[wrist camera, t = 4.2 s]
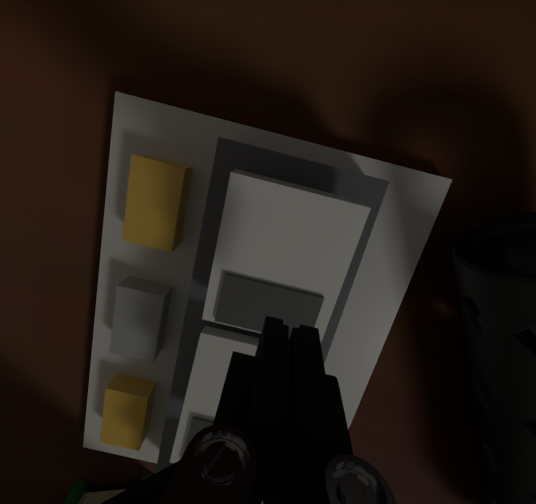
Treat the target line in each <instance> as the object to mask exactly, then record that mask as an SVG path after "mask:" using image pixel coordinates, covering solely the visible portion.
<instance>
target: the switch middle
mask: <svg viewBox="0 0 536 504" xmlns="http://www.w3.org/2000/svg"><path fill="white" fill-rule="evenodd" d="M259 339H260V338H256V337H252V336H247V335H243V334H239V333H235V332H231V331H226V330H222V329H218V328H214V327H210V326H205V327H204V328H203V330H202V331H201V334H200V338H199V342H198V346H197V350H196V355H195V359H194V363H193V367H192V371H191V375H190V379H189V384H188V388H187V392H186V396H185V400H184V404H183V408H182V413H181V417H180V421H179V425H178V429H177V433H176V437H175V441H174V446H173V450H172V454H171V458H170V463H175V462H177V461H179V460H181V458H182V456H183V454H184V452H185V450H186V448H187V446H188V444H189V442H190V441H191V440H192V438H193V437H194V436H195V434H196V433H198V432H199V431H200V430H202V429H203V428H205V427H208V426H211V425H213V422H214V419H215V415H216V411H217V408H218V404H219V400H220V397H221V393H222V389H223V386H224V382H225V378H226V375H227V371H228V367H229V364H230V360H231V356H232V353H233V351H235V352H239V353H243V354H247V355H251V356H255V353H256V350H257V346H258V343H259Z"/></svg>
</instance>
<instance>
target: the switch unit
mask: <svg viewBox="0 0 536 504" xmlns="http://www.w3.org/2000/svg"><path fill="white" fill-rule="evenodd" d="M234 169H239V170H243V171H247V172H250V173H254V174H258V175H262V176H266V177H270V178H274V179H278V180H282V181H286V182H289V183H293V184H297V185H301V186H305V187H309V188H313V189H317V190H321V191H324V192H328V193H332V194H336V195H340V196H344V197H348V198H352V199H356V200H359V201H363V202H365V203H366V204H367V205H368V206H369V207H371V209H370V212H369V215H368V217H367V220H366V223H365V226H364V228H363V231H362V234H361V236H360V239H359V242H358V244H357V247H356V250H355V252H354V255H353V258H352V261H351V263H350V266H349V269H348V271H347V274H346V277H345V279H344V282H343V285H342V288H341V290H340V293H339V296H338V298H337V301H336V304H335V306H334V309H333V312H332V315H331V317H330V320H329V323H328V325H327V328H326V331H325V333H324V336H323V339H322V342H321V348H322V355H323V361H324V368H325V374H328V375H332V376H335V377H336V378H337V379H338V383H339V388H340V393H341V397H342V402H343V407H344V412H345V417H346V422H347V427H348V429H349V427H350V424H351V422H352V420H353V417H354V415H355V412H356V410H357V408H358V405H359V403H360V400H361V398H362V396H363V393H364V391H365V388H366V386H367V384H368V381H369V379H370V376H371V374H372V372H373V369H374V367H375V364H376V362H377V360H378V357H379V355H380V352H381V350H382V348H383V345H384V343H385V340H386V338H387V335H388V333H389V331H390V328H391V326H392V323H393V321H394V319H395V316H396V314H397V311H398V309H399V307H400V304H401V302H402V299H403V297H404V295H405V292H406V290H407V287H408V285H409V283H410V280H411V278H412V275H413V273H414V271H415V268H416V266H417V263H418V261H419V259H420V256H421V254H422V251H423V249H424V246H425V244H426V242H427V239H428V237H429V234H430V232H431V230H432V227H433V225H434V222H435V220H436V218H437V215H438V213H439V210H440V208H441V206H442V203H443V201H444V198H445V196H446V194H447V191H448V189H449V186H450V184H451V182H452V179H448V178H444V177H441V176H437V175H433V174H429V173H425V172H422V171H418V170H414V169H410V168H406V167H403V166H399V165H395V164H391V163H387V162H383V161H380V160H376V159H372V158H368V157H364V156H361V155H357V154H353V153H349V152H345V151H341V150H338V149H334V148H330V147H326V146H322V145H319V144H315V143H311V142H307V141H303V140H300V139H296V138H292V137H288V136H284V135H280V134H277V133H273V132H269V131H265V130H261V129H258V128H254V127H250V126H246V125H242V124H239V123H235V122H231V121H227V120H223V119H219V118H216V117H212V116H208V115H204V114H200V113H197V112H193V111H189V110H185V109H181V108H178V107H174V106H170V105H166V104H162V103H158V102H155V101H151V100H147V99H143V98H139V97H136V96H132V95H128V94H124V93H120V92H116V91H115V100H114V111H113V122H112V133H111V144H110V155H109V166H108V177H107V188H106V199H105V210H104V221H103V232H102V243H101V254H100V265H99V276H98V287H97V298H96V309H95V320H94V331H93V342H92V354H91V365H90V376H89V387H88V398H87V409H86V420H85V431H84V442H83V447H85V448H89V449H94V450H98V451H103V452H107V453H112V454H116V455H121V456H126V457H130V458H135V459H139V460H144V461H148V462H153V463H157V466H156V472H155V473H157V472H159V471H161V470H163V469H165V468H166V467H168V466H170V465H172V464H173V463H170V458H171V454H172V450H173V446H174V441H175V437H176V433H177V429H178V425H179V421H180V417H181V413H182V408H183V404H184V400H185V396H186V392H187V388H188V384H189V379H190V375H191V371H192V367H193V363H194V359H195V355H196V350H197V346H198V342H199V338H200V334H201V331H202V330H203V328H204V327H205V326H210V327H214V328H218V329H222V330H226V331H231V332H235V333H239V334H243V335H247V336H252V337H256V338H260V336H261V333H258V332H254V331H249V330H245V329H241V328H237V327H233V326H228V325H224V324H220V323H216V322H212V321H207V320H203V319H202V316H203V311H204V306H205V301H206V296H207V290H208V285H209V280H210V275H211V270H212V265H213V260H214V255H215V250H216V245H217V240H218V235H219V229H220V224H221V219H222V214H223V209H224V204H225V199H226V194H227V189H228V184H229V179H230V173H231V171H233V170H234Z"/></svg>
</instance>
